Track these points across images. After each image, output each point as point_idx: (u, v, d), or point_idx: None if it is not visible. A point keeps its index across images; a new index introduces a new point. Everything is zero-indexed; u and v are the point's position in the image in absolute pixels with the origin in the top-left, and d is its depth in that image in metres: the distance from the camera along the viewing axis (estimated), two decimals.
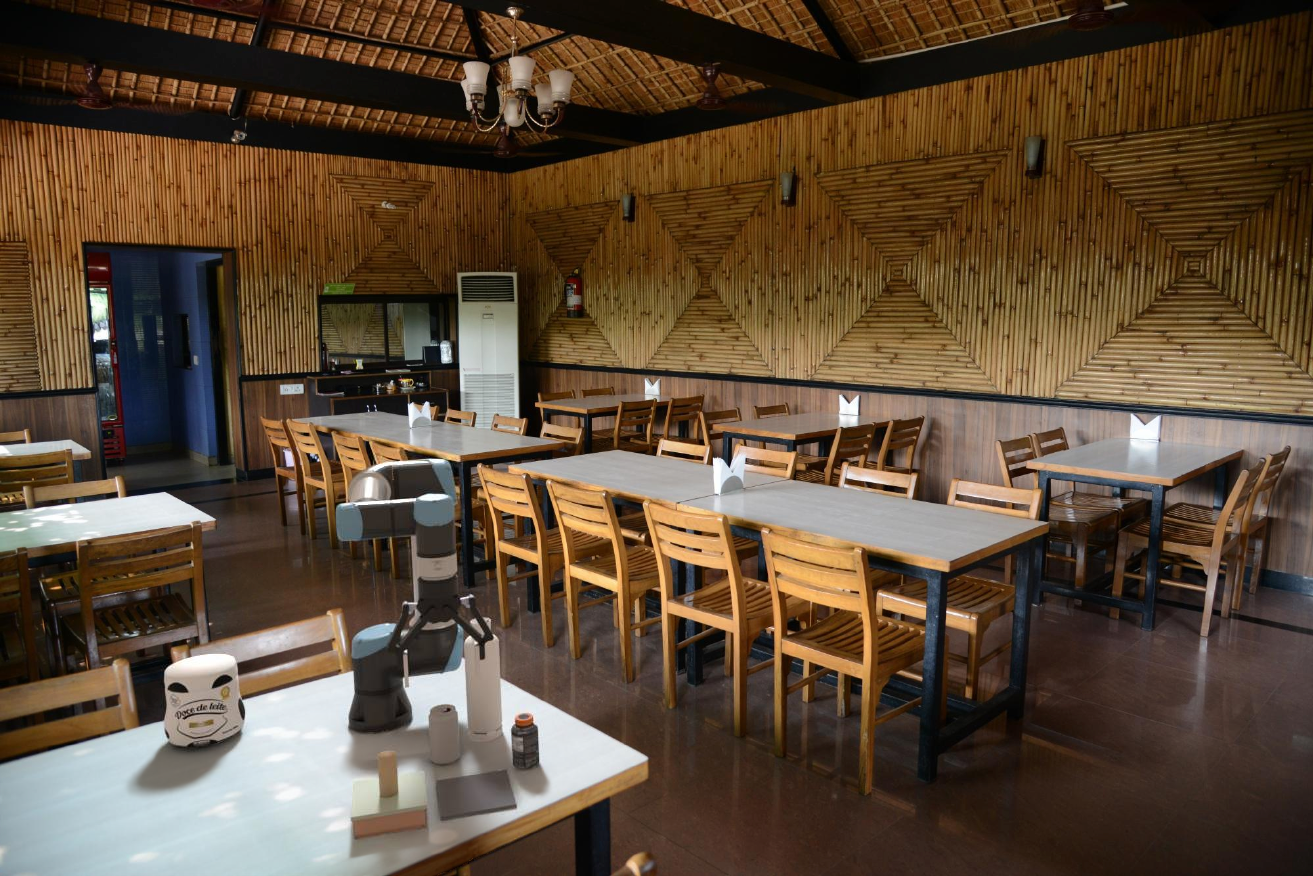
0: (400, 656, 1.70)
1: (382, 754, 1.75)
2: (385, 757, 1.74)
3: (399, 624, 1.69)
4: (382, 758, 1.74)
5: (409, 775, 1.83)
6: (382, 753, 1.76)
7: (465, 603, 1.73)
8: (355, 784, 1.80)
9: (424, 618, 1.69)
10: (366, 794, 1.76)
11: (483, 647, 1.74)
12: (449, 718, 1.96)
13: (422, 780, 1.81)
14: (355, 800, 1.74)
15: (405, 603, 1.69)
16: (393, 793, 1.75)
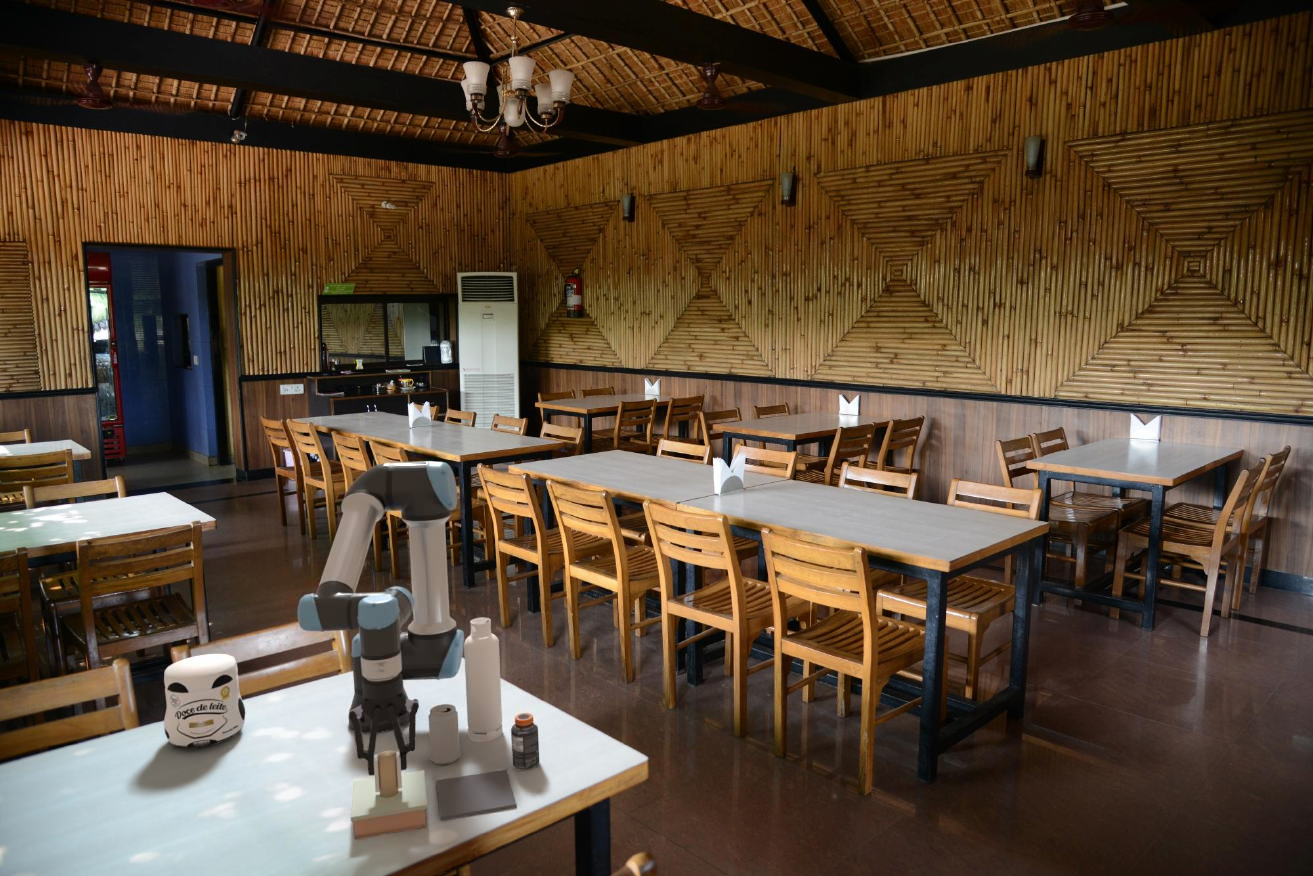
0: (371, 762, 1.74)
1: (382, 754, 1.76)
2: (385, 757, 1.74)
3: (355, 732, 1.72)
4: (382, 757, 1.74)
5: (409, 775, 1.83)
6: (382, 753, 1.76)
7: (408, 706, 1.75)
8: (355, 784, 1.80)
9: (373, 720, 1.72)
10: (366, 794, 1.76)
11: (405, 757, 1.76)
12: (450, 718, 1.96)
13: (422, 780, 1.81)
14: (355, 800, 1.74)
15: (350, 711, 1.72)
16: (393, 793, 1.75)
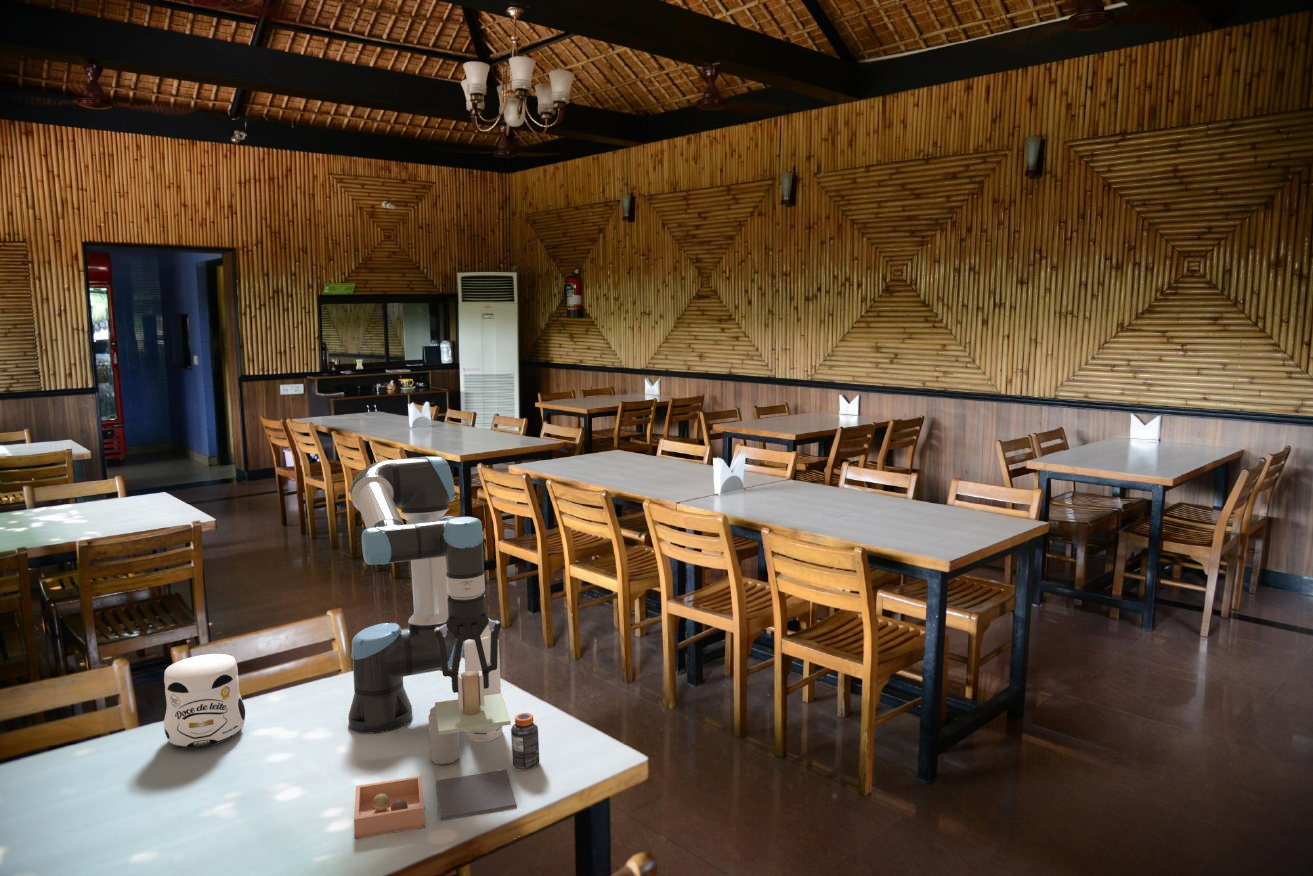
0: (455, 679, 1.79)
1: (465, 673, 1.81)
2: (468, 676, 1.80)
3: (441, 649, 1.77)
4: (465, 676, 1.80)
5: (488, 697, 1.88)
6: (465, 673, 1.81)
7: (490, 626, 1.80)
8: (437, 704, 1.85)
9: (458, 638, 1.77)
10: (449, 712, 1.81)
11: (487, 676, 1.81)
12: None
13: (501, 701, 1.86)
14: (440, 717, 1.79)
15: (436, 630, 1.77)
16: (476, 711, 1.80)
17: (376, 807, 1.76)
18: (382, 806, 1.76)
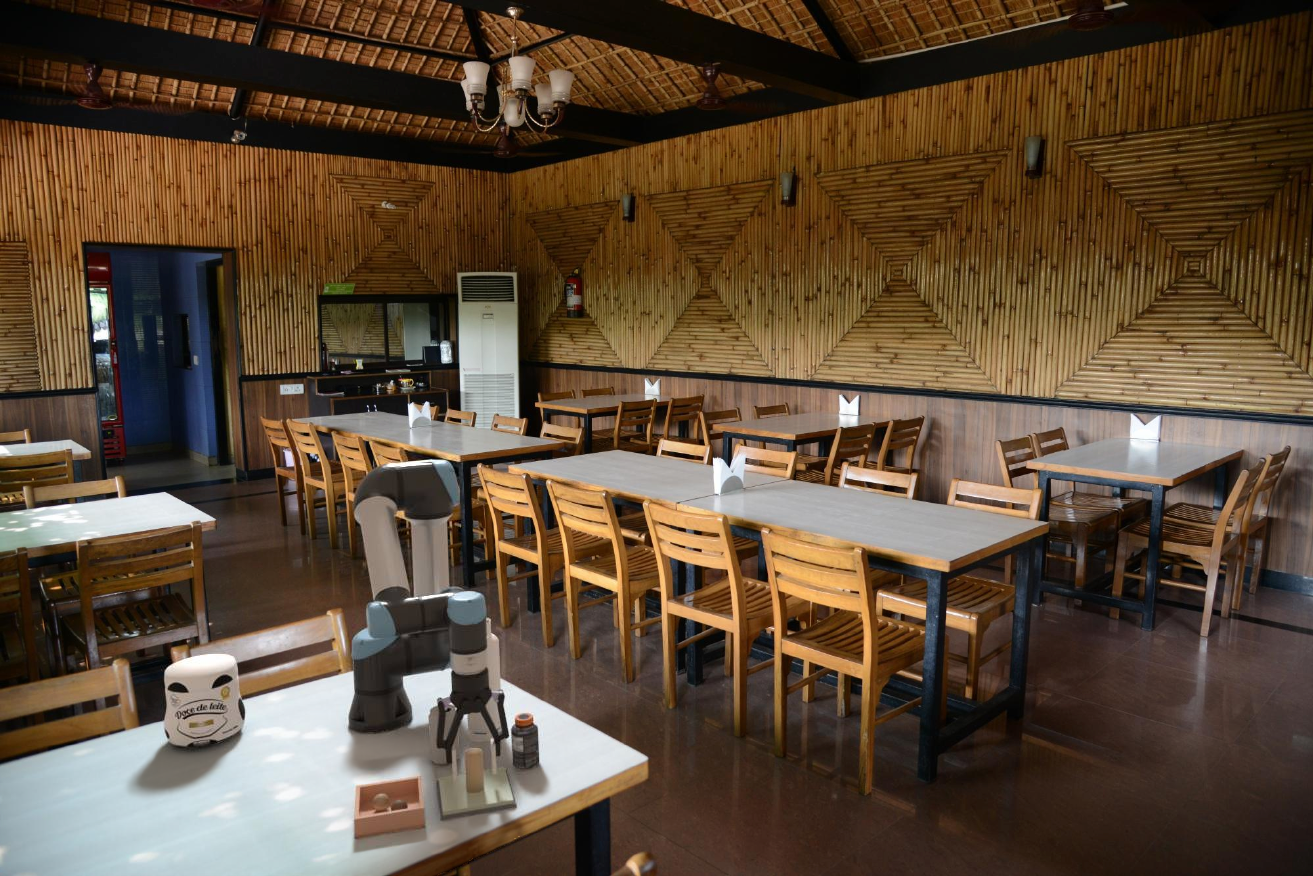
0: (449, 751, 1.81)
1: (469, 751, 1.83)
2: (472, 754, 1.82)
3: (440, 721, 1.79)
4: (469, 755, 1.82)
5: (491, 772, 1.91)
6: (468, 750, 1.84)
7: (494, 697, 1.82)
8: (440, 780, 1.88)
9: (460, 712, 1.79)
10: (453, 790, 1.83)
11: (499, 744, 1.84)
12: (449, 718, 1.96)
13: (504, 776, 1.89)
14: (444, 795, 1.81)
15: (439, 701, 1.79)
16: (479, 789, 1.83)
17: (376, 807, 1.76)
18: (382, 806, 1.76)
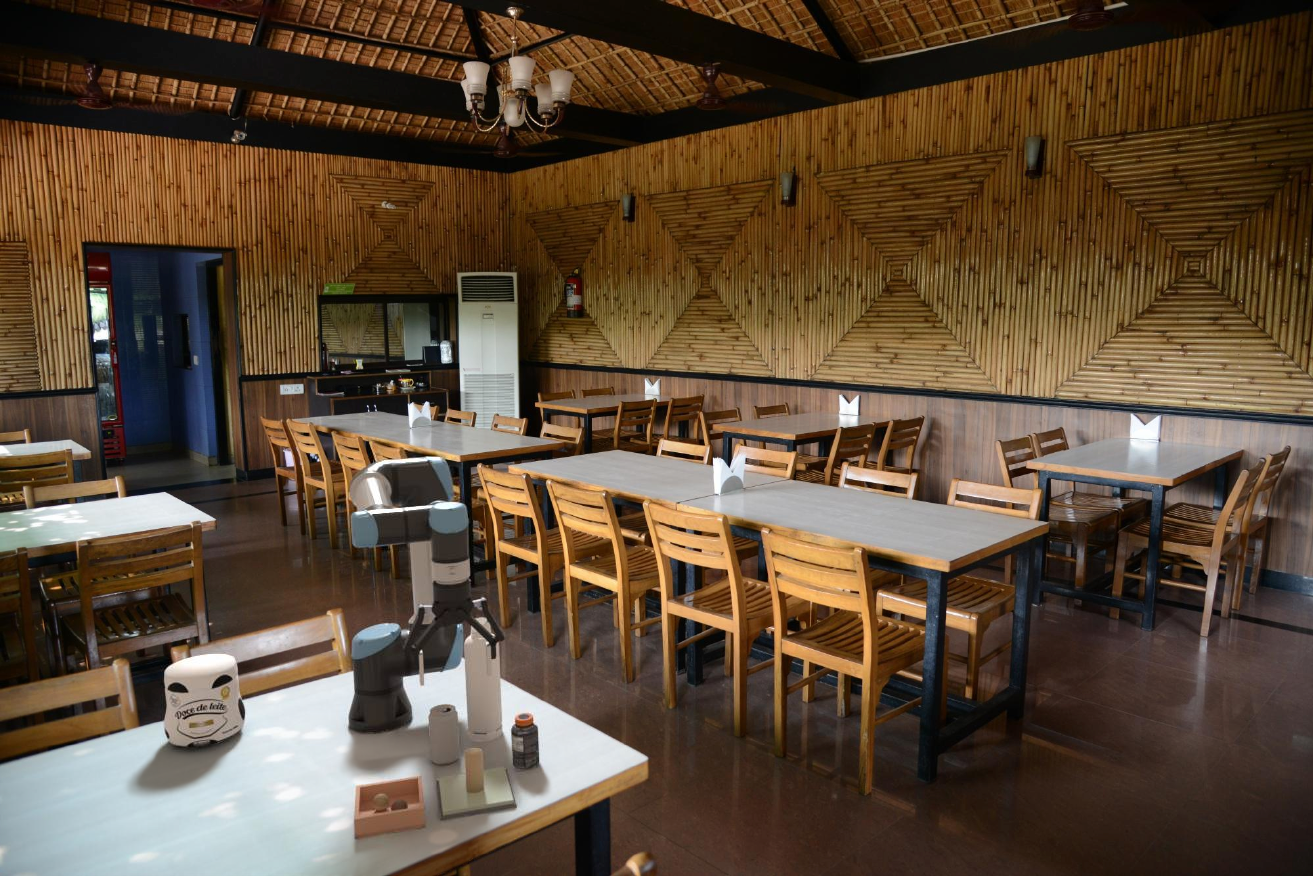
0: (416, 656, 1.79)
1: (469, 751, 1.83)
2: (472, 754, 1.82)
3: (415, 626, 1.77)
4: (469, 755, 1.82)
5: (491, 772, 1.91)
6: (468, 750, 1.84)
7: (477, 605, 1.81)
8: (440, 780, 1.88)
9: (439, 620, 1.78)
10: (453, 790, 1.83)
11: (494, 647, 1.84)
12: (449, 718, 1.96)
13: (504, 776, 1.89)
14: (444, 795, 1.81)
15: (421, 606, 1.78)
16: (479, 789, 1.83)
17: (376, 807, 1.76)
18: (382, 806, 1.76)
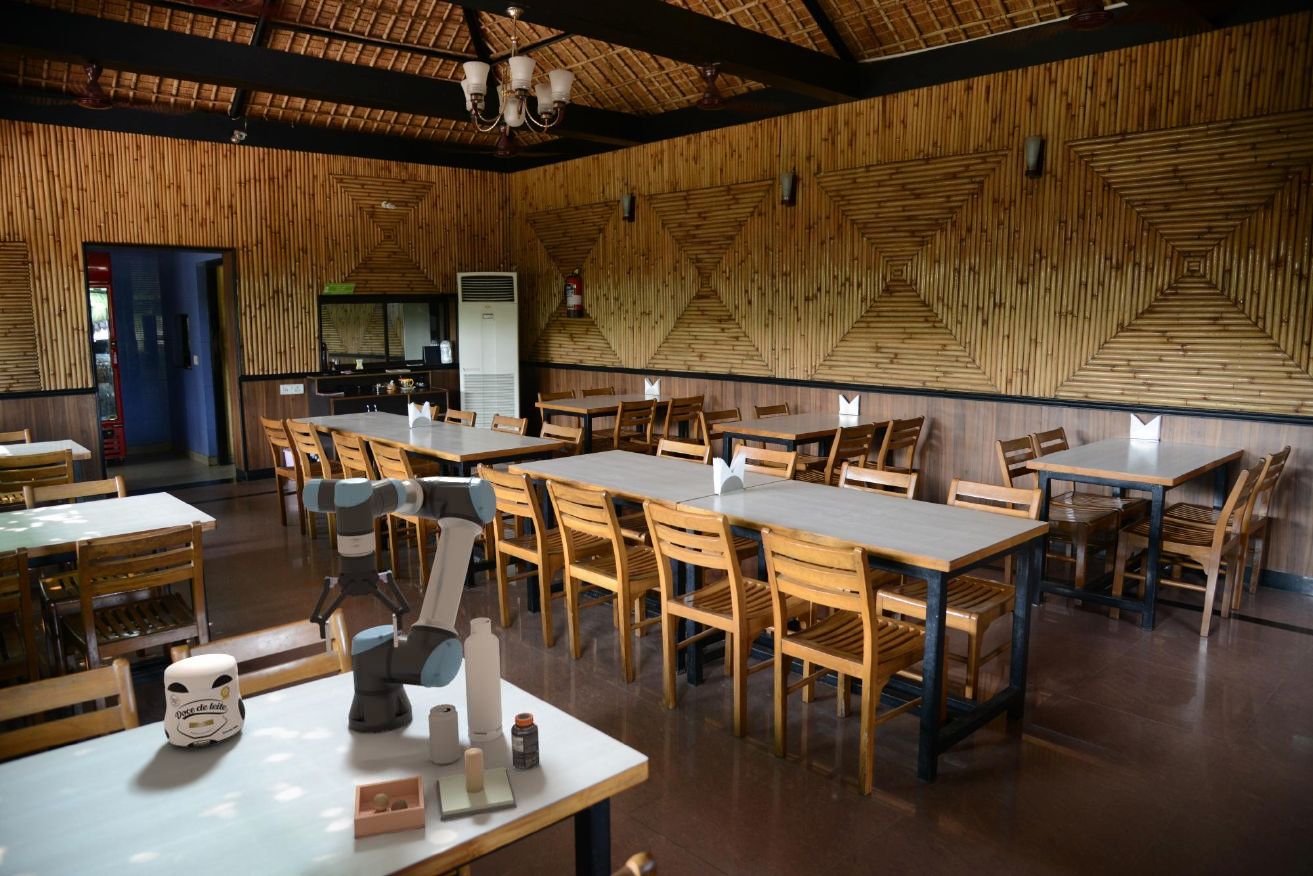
0: (322, 626, 1.85)
1: (469, 751, 1.83)
2: (472, 754, 1.82)
3: (321, 597, 1.84)
4: (469, 755, 1.82)
5: (491, 772, 1.91)
6: (468, 750, 1.84)
7: (383, 578, 1.88)
8: (440, 780, 1.88)
9: (344, 591, 1.85)
10: (453, 790, 1.83)
11: (400, 619, 1.90)
12: (449, 718, 1.96)
13: (504, 776, 1.89)
14: (444, 795, 1.81)
15: (327, 577, 1.85)
16: (479, 789, 1.83)
17: (376, 807, 1.76)
18: (382, 806, 1.76)
